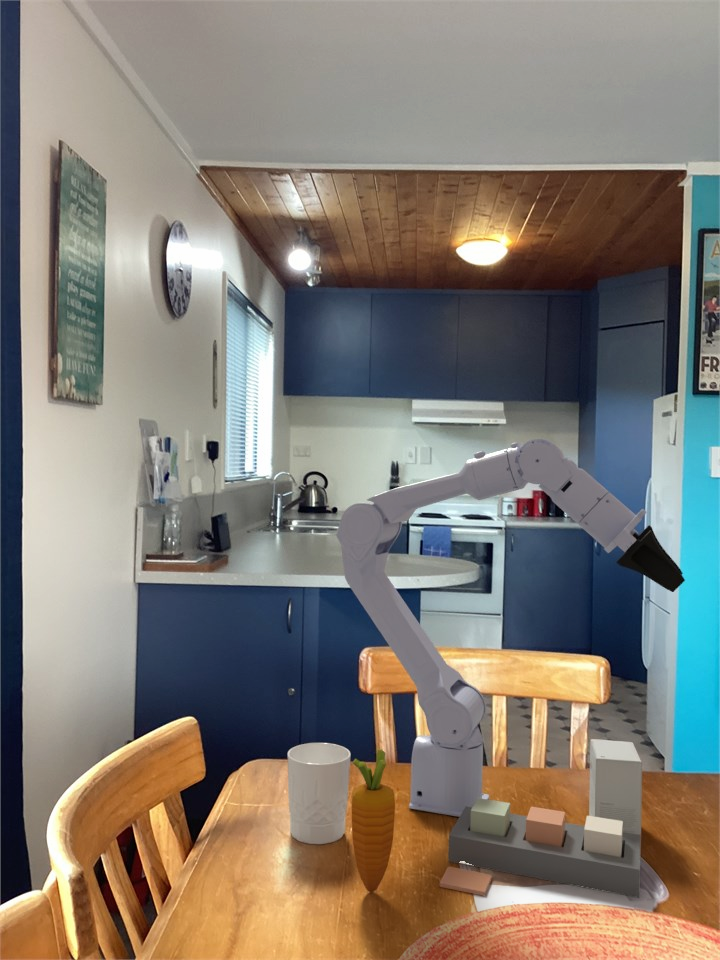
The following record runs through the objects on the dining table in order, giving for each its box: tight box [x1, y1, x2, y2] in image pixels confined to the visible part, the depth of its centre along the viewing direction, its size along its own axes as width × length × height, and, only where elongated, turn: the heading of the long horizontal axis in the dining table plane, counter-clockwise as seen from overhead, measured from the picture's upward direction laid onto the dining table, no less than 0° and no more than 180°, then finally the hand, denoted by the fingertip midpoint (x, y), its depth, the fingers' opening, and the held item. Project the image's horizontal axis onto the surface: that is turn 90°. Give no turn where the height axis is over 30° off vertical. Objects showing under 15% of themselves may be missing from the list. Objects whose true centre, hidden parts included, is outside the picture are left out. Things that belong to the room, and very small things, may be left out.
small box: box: [588, 738, 643, 836], centre depth 102 cm, size 8×6×10 cm
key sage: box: [470, 798, 511, 837], centre depth 96 cm, size 4×4×4 cm
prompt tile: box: [439, 866, 493, 896], centre depth 88 cm, size 5×4×1 cm
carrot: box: [351, 748, 396, 894], centre depth 85 cm, size 5×5×15 cm
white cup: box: [287, 742, 351, 845], centre depth 100 cm, size 8×8×10 cm
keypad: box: [447, 806, 642, 898], centre depth 93 cm, size 21×9×3 cm, turn 70°
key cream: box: [584, 815, 623, 857], centre depth 91 cm, size 4×4×4 cm
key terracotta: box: [526, 806, 566, 847], centre depth 93 cm, size 4×4×4 cm
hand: (678, 582), depth 99 cm, fingers open, 7 cm apart
